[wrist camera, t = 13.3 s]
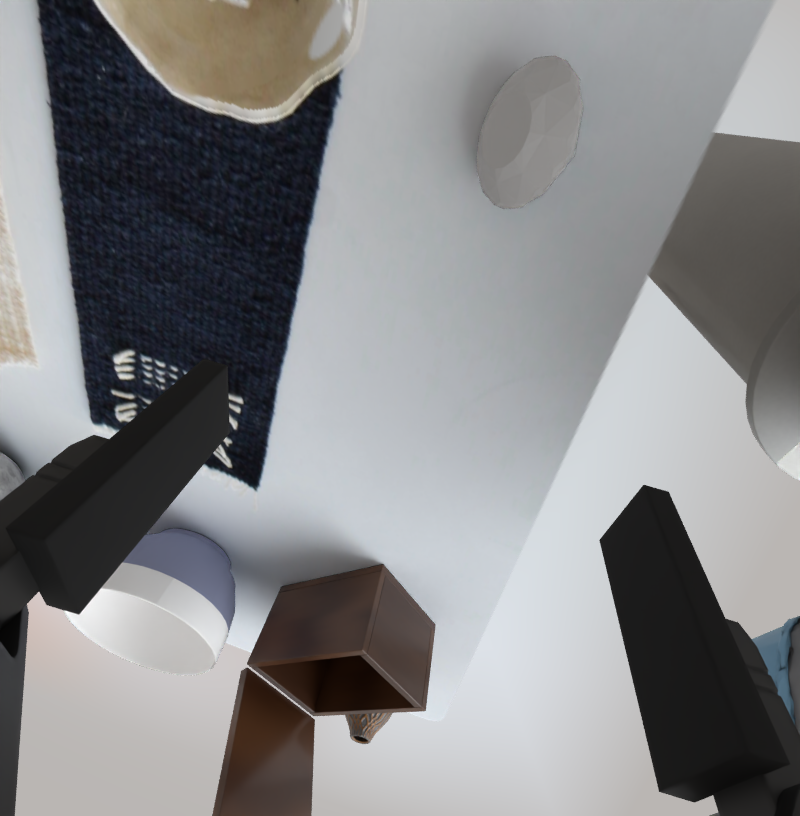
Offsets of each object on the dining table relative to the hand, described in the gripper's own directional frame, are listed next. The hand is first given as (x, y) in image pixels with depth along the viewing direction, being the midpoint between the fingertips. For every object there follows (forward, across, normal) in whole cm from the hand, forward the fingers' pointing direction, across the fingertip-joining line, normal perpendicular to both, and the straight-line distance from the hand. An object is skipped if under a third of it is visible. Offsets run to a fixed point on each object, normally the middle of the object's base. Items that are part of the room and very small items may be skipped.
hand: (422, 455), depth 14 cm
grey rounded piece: (+17, +1, +8) cm, 19 cm away
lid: (0, -3, -42) cm, 43 cm away
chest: (+16, 0, -40) cm, 43 cm away
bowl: (+17, -20, -39) cm, 47 cm away
